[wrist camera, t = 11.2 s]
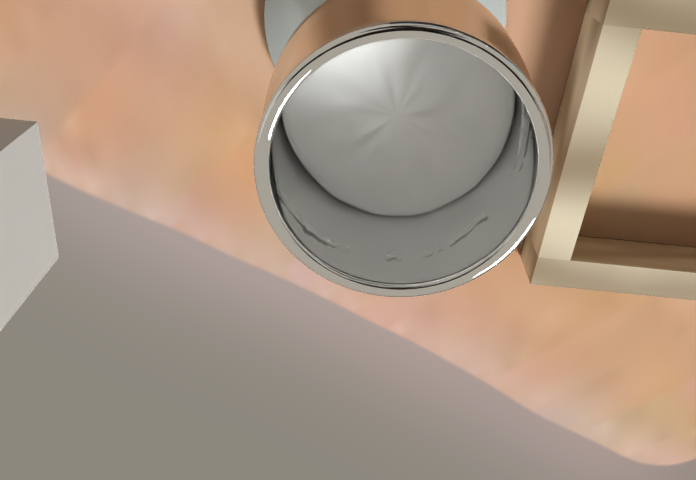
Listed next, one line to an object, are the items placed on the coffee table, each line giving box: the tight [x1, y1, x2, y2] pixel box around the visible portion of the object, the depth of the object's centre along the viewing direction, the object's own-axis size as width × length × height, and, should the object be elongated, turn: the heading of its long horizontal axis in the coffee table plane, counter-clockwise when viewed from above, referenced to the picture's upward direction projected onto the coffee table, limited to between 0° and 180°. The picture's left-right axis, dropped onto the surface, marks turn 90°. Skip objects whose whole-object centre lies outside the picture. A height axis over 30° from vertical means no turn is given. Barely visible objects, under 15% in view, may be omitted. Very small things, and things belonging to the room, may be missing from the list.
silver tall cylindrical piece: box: [254, 0, 554, 297], centre depth 21 cm, size 7×7×15 cm
